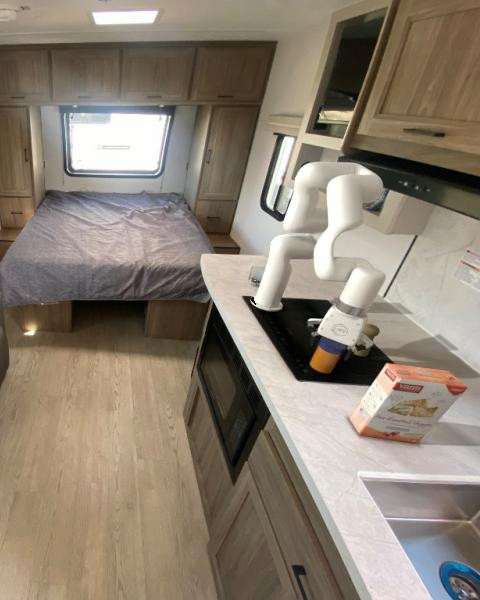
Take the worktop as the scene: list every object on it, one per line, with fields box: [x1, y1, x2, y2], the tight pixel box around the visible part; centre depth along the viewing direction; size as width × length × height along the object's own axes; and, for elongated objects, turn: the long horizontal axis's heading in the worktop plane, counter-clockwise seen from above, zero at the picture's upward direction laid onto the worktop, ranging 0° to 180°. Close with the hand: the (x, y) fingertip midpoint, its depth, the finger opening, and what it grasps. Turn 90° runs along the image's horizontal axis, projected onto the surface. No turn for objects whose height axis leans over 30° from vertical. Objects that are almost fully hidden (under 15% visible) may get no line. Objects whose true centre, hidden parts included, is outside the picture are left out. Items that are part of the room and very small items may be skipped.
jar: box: [309, 344, 342, 374], centre depth 107 cm, size 6×6×10 cm
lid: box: [318, 336, 347, 355], centre depth 105 cm, size 7×7×2 cm
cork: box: [346, 322, 381, 357], centre depth 115 cm, size 6×6×11 cm
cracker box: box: [348, 362, 468, 445], centre depth 83 cm, size 14×6×21 cm, turn 80°
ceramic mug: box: [248, 265, 266, 287], centre depth 161 cm, size 11×8×8 cm
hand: (328, 351), depth 107 cm, fingers open, 9 cm apart
